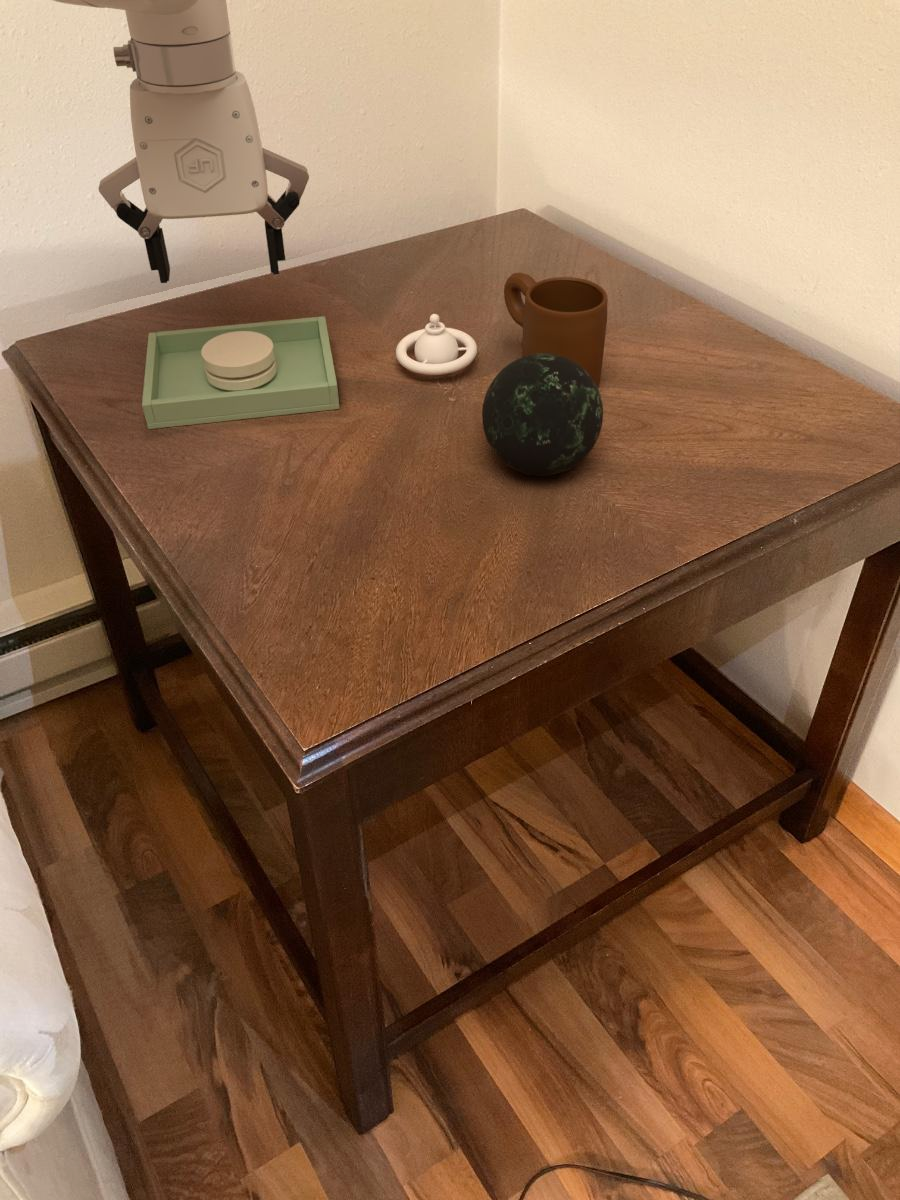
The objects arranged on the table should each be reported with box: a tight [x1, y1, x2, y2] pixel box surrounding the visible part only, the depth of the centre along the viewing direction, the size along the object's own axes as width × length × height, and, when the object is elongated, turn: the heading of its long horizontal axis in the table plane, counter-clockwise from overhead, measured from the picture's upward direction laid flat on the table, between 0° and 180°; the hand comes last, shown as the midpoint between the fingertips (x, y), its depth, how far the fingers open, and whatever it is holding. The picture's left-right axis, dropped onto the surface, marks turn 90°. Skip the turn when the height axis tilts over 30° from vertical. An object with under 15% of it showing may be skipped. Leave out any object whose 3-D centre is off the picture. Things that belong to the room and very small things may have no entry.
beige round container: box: [201, 331, 277, 391], centre depth 95 cm, size 7×7×3 cm
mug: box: [503, 272, 609, 389], centre depth 93 cm, size 12×8×9 cm, turn 38°
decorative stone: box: [481, 353, 604, 477], centre depth 82 cm, size 10×10×10 cm
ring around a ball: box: [395, 313, 478, 376], centre depth 96 cm, size 8×6×8 cm
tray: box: [141, 315, 341, 430], centre depth 95 cm, size 18×14×3 cm
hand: (220, 272), depth 88 cm, fingers open, 9 cm apart
